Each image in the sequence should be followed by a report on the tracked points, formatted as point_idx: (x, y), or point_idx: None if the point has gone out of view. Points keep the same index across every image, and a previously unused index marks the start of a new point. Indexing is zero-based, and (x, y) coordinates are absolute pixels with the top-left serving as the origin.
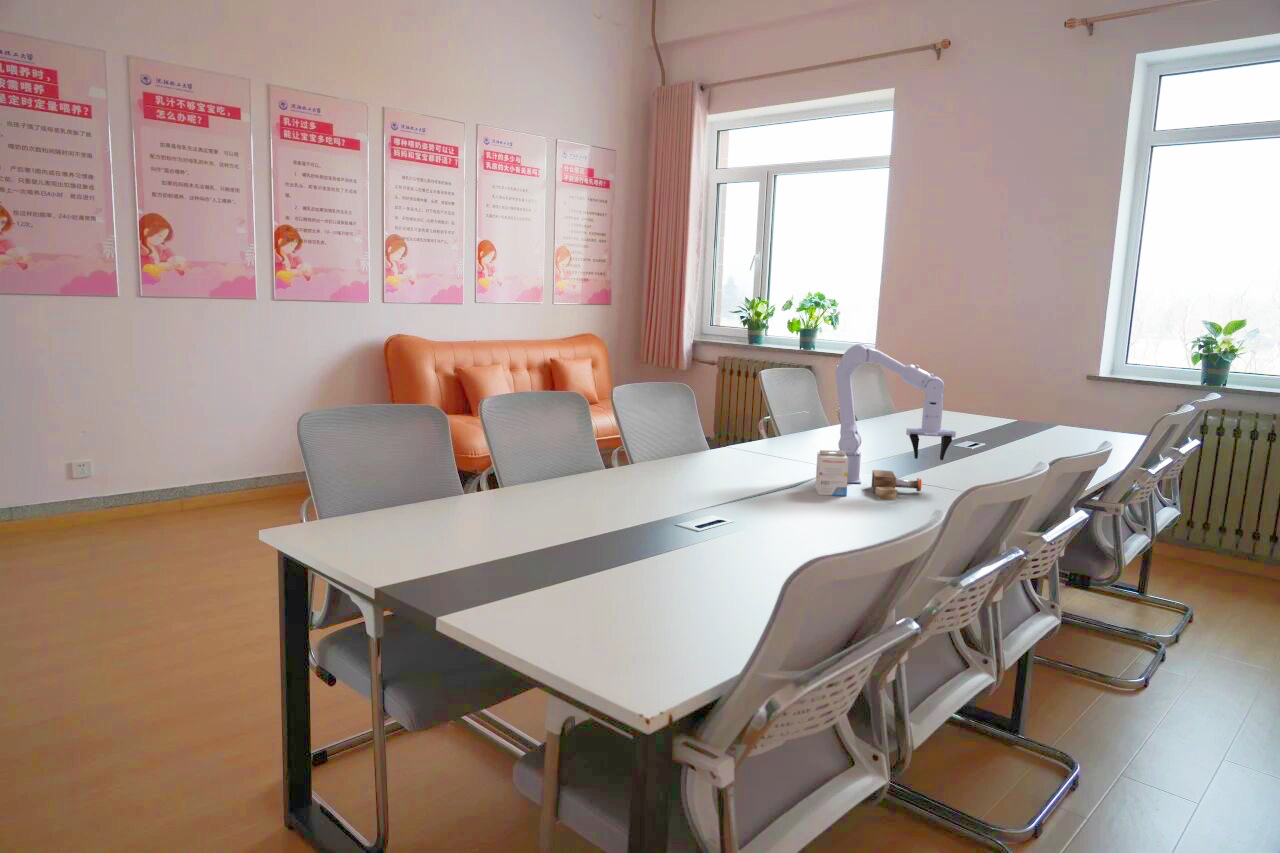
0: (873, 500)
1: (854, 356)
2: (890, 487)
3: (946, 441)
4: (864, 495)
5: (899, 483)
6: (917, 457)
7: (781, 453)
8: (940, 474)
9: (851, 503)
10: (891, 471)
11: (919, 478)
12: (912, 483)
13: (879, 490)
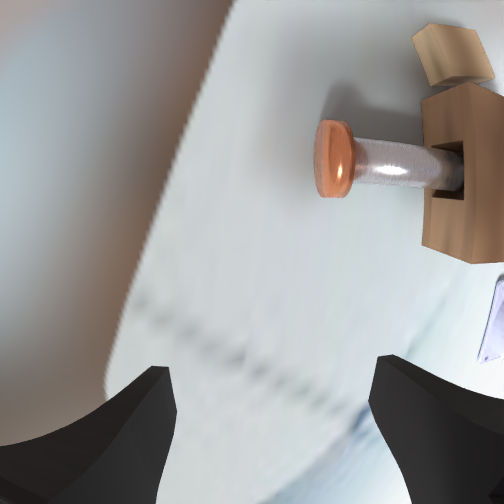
0: (466, 27)
1: None
2: (455, 65)
3: (33, 474)
4: (496, 92)
5: (427, 147)
6: (384, 359)
7: None
8: (184, 499)
9: (496, 8)
10: (476, 250)
11: (343, 152)
12: (371, 139)
13: (476, 40)
